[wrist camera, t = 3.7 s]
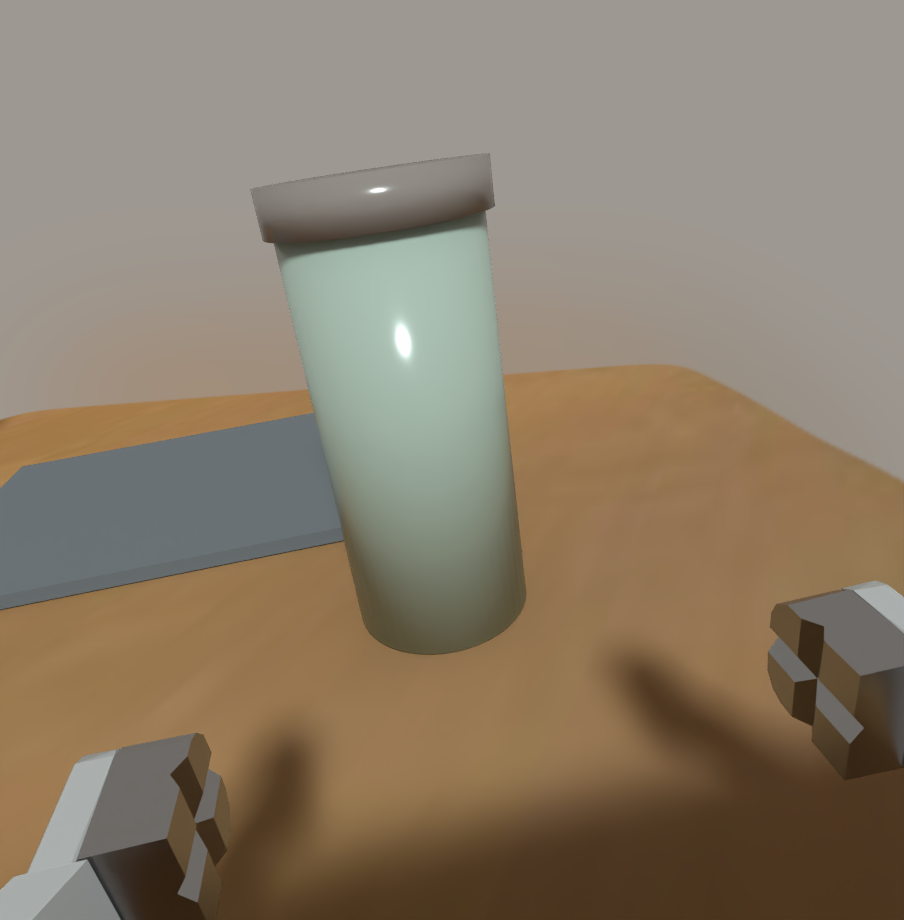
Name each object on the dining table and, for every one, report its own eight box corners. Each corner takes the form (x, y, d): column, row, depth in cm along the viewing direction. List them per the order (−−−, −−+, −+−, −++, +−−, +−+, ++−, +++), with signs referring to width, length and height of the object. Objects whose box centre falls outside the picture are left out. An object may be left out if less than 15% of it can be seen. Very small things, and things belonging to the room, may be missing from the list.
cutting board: (-128, 635, 25) (-135, 622, 25) (26, 476, 38) (22, 466, 38) (400, 528, 27) (398, 515, 27) (379, 410, 40) (377, 401, 39)
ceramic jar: (357, 678, 20) (234, 194, 14) (352, 566, 25) (262, 185, 20) (556, 635, 20) (515, 152, 15) (510, 534, 26) (466, 154, 20)
